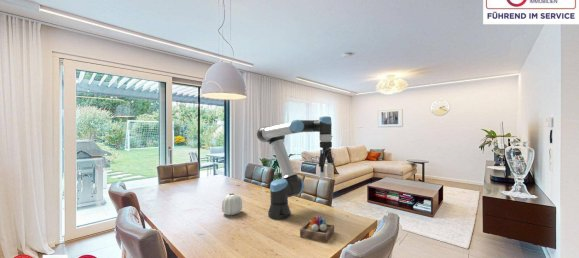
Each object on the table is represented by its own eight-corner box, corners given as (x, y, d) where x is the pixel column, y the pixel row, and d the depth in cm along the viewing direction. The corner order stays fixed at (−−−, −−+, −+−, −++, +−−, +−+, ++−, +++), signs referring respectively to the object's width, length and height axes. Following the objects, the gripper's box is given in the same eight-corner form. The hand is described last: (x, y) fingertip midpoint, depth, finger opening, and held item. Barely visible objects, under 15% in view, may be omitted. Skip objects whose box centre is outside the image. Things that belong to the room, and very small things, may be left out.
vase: (217, 215, 160) (217, 195, 159) (230, 208, 172) (229, 190, 172) (234, 218, 154) (234, 197, 154) (246, 211, 167) (245, 192, 167)
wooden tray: (300, 236, 126) (299, 229, 126) (309, 227, 138) (309, 220, 138) (326, 242, 119) (326, 234, 119) (334, 232, 131) (334, 224, 131)
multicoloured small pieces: (308, 226, 132) (307, 213, 132) (325, 225, 133) (324, 212, 133) (310, 233, 124) (310, 219, 124) (328, 232, 124) (328, 218, 124)
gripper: (325, 142, 134) (325, 179, 134) (337, 140, 156) (337, 172, 156) (312, 142, 137) (313, 178, 137) (326, 140, 159) (326, 171, 159)
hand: (326, 175), depth 146 cm, fingers open, 13 cm apart
